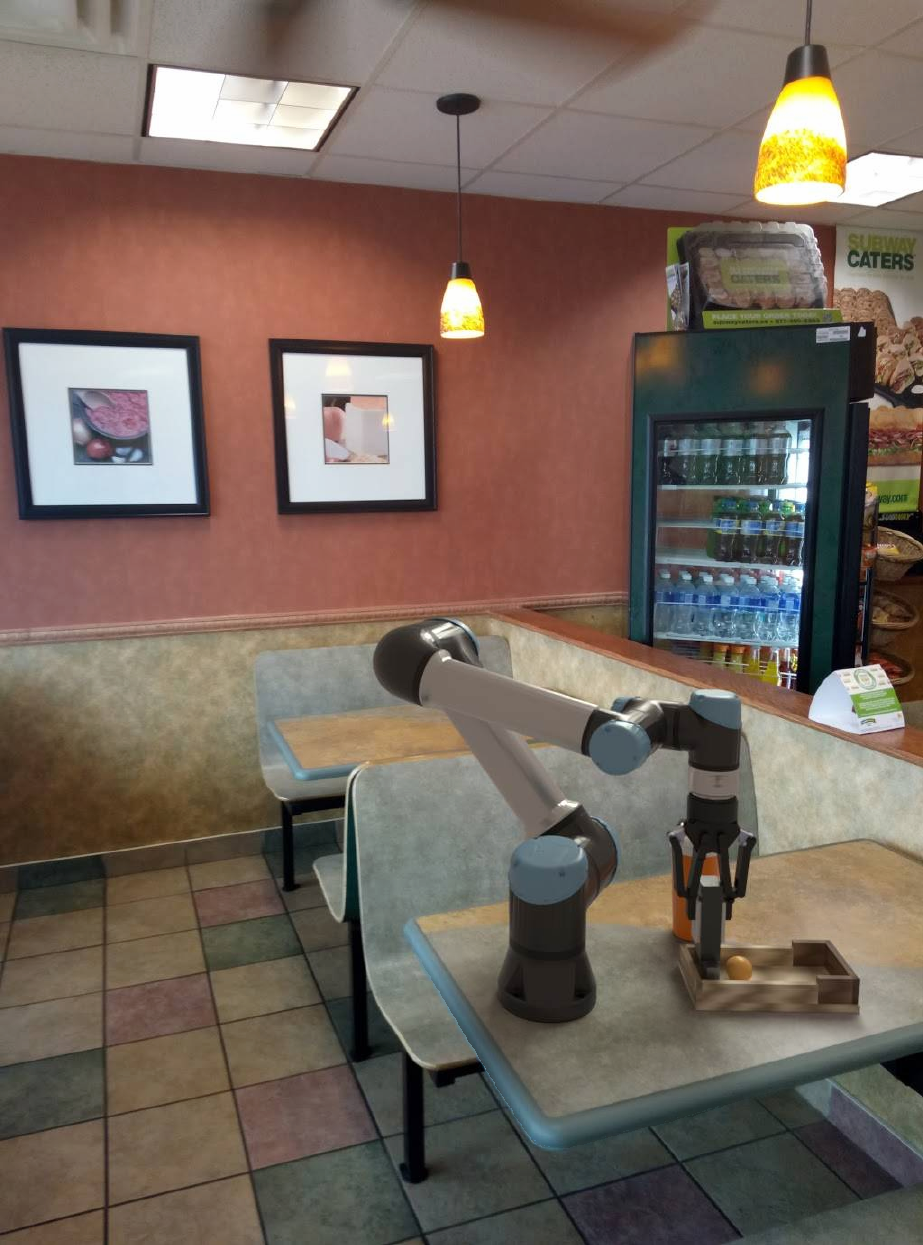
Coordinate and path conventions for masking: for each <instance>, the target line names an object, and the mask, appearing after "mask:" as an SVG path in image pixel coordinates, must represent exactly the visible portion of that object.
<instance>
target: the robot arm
mask: <svg viewBox="0 0 923 1245" xmlns="http://www.w3.org/2000/svg"><path fill="white" fill-rule="evenodd" d="M372 670H373V672H374V675H375V678H376V679H377V682H378V683H379V684H380V685H381V687H382V688H383V689H384V690H385V691H386V692H388V693H389V694H391V695H392V696H394V697H396V698H398V699H401V700H402V701H406V702H408V703H410V704H413V705H416V706H420V707H422V708H426V709H432V710H437V711H441V712H444V714H445V716H446V717H447V718H448V719H449V721H450V723H451V724H452V725H453V727H454V728H455V729H456V731H457V732H458V734H459V736H460V737H461V739H462V740H463V741H464V743H465V744H466V745H467V747H468V748H469V750H470V752H471V753H472V754H473V756H474V758H475V759H476V760H477V761H478V763H479V765H480V766H481V767H482V769H483V770H484V772H485V773H486V775H487V776H488V778H489V779H490V780H491V782H492V784H493V785H494V786H495V788H496V789H497V791H498V792H499V794H500V796H501V797H502V799H504V801H505V802H506V804H507V806H508V807H509V809H510V810H511V811H512V812H513V814H514V815H515V817H516V819H517V820H518V822H519V823H520V824H521V825H522V827H523V830H524V835H523V842H522V843H520V844H519V845H517V846H516V847H515V849H514V850H513V851H512V853H511V855H510V860H509V868H508V869H509V870H508V872H507V876H508V878H507V880H508V920H509V921H508V922H509V923H508V931H509V932H508V948H507V950H506V953H505V957H504V959H503V962H502V965H501V968H500V972H499V973H498V978H497V997H498V1000H499V1002H500V1005H502V1006H503V1007H504V1008H505V1009H506V1010H508V1011H509V1012H510V1013H512V1014H513V1015H516V1016H518V1017H521V1018H523V1019H526V1020H529V1021H534V1022H542V1023H560V1022H568V1021H572V1020H575V1019H578V1018H580V1017H582V1016H585V1015H586V1014H588V1013H589V1012H590V1011H591V1010H592V1009H593V1008H594V1007H595V1005H596V1002H597V988H598V987H597V979H596V977H595V975H594V970H593V968H592V965H591V961H590V958H589V955H588V953H587V947H586V945H587V944H586V939H587V938H586V935H587V912H588V908H590V906H591V905H592V904H593V902H595V900H596V899H597V898H598V897H599V896H600V894H601V893H602V891H604V889H606V888H608V886H610V884H611V882H612V881H613V880H614V879H615V875H616V873H617V872H618V870H619V868H620V864H621V859H622V858H621V857H622V849H621V844H620V841H619V838H618V836H617V834H616V833H615V831H614V829H613V828H612V827H611V826H610V825H609V824H608V823H607V822H606V821H605V820H604V819H601V818H599V817H595V816H593V815H590V814H589V813H588V811H587V810H586V809H585V807H584V806H583V804H582V803H581V802H580V801H575V800H570V799H568V798H566V796H565V794H563V792H562V791H561V789H560V788H559V786H558V785H557V784H556V782H555V780H554V779H553V777H552V776H551V775H550V773H549V772H548V771H547V769H546V768H545V766H544V765H543V763H542V762H541V761H540V759H539V758H538V756H537V755H536V754H535V752H534V751H533V748H531V746H530V745H529V743H528V742H527V740H525V738H524V736H526V737H530V738H533V739H535V740H538V741H541V742H544V743H547V744H549V745H553V746H556V747H558V748H561V749H564V750H566V751H570V752H573V753H575V754H578V755H582V756H584V757H587V758H590V759H591V760H592V762H593V764H594V765H595V766H596V767H597V768H598V770H600V771H601V772H603V773H605V774H606V775H610V776H615V777H617V776H619V777H620V776H621V777H622V776H624V775H625V776H626V775H628V774H630V773H633V772H634V771H635V770H638V769H639V768H641V767H642V766H643V764H645V763H646V762H647V759H649V757H651V756H652V755H653V754H654V753H655V752H656V751H657V750H660V749H661V750H669V751H676V752H687V754H688V755H687V756H688V759H687V760H688V762H687V763H688V764H687V787H686V788H688V790H689V791H688V792H687V793H686V818H685V819H686V821H685V823H684V824H683V828H682V829H680V830H677V831H675V830H674V831H675V832H674V831H673V830H668V831H667V832H666V837H667V839H668V841H669V844H670V843H671V848H672V863H673V879H674V889H675V891H676V893H677V895H678V897H684V898H686V915H687V917H688V919H689V920H692V931H691V935H692V937H693V939H694V941H695V942H694V944H695V943H700V929H701V901H700V899H699V897H698V890H699V884H700V879H701V874H702V869H703V864H704V860H705V859H706V854H707V853H711V852H714V853H717V859H718V867H719V881H720V882H721V884H722V886H723V900H722V927H721V944H725V941H726V940H725V939H726V938H725V937H726V921H731V920H732V918H733V904H734V903H735V901H736V900H735V899H738V898H739V899H743V898H745V896H746V893H747V886H748V879H749V878H748V877H749V871H750V864H751V856H752V852H753V849H754V848H755V846H756V844H757V841H758V840H757V837H756V836H755V834H753V833H752V832H751V830H750V831H749V830H747V831H745V830H743V829H741V826H740V825H739V821H738V819H739V799H740V798H739V796H738V795H737V793H738V792H740V790H739V789H740V764H741V761H740V760H741V742H742V728H743V722H742V701H741V698H740V697H739V695H737V693H734V692H733V691H730V690H724V689H718V688H717V689H716V688H715V689H714V688H713V689H710V688H709V689H708V688H707V689H705V688H702V689H697V690H693V692H691V693H690V697H689V700H688V701H677V700H675V701H674V700H665V699H655V698H648V697H647V698H646V697H642V696H638V695H637V696H619V697H617V698H616V699H614V701H613V702H612V705H611V707H610V709H608V708H606V707H602V706H600V705H597V704H594V703H591V702H589V701H585V700H581V699H579V698H575V697H572V696H570V695H566V694H563V693H560V692H556V691H553V690H550V689H547V688H544V687H541V686H537V685H535V684H531V683H528V682H525V681H522V680H518V679H516V678H512V677H509V676H507V675H504V674H501V673H497V672H494V671H490V670H488V669H486V667H485V666H484V665H483V663H482V661H481V659H480V645H479V640H478V639H477V637H476V635H475V633H474V632H473V631H472V630H471V629H470V627H469V626H468V625H466V624H465V623H463V622H461V621H459V620H458V619H455V618H450V617H431V618H427V619H424V620H423V621H419V622H415V623H411V624H407V625H401V626H398V627H395V628H393V629H391V630H389V631H388V632H386V633H385V634H384V635H383V636H382V637H381V638H380V639H379V641H378V642H377V645H376V647H375V649H374V651H373V657H372ZM685 836H687V837H688V839H689V840H690V841H691V843H692V844H693V855H692V860H691V865H690V870H689V875H688V881H687V886H686V887H685V883H684V868H683V853H682V848H681V845H683V844H684V838H685ZM737 838H738V839H737ZM736 839H737V840H736ZM735 841H737V842H738V843H739V845H738V849H737V857H736V866H735V871H734V872H735V873H734V878H733V879H734V881H732V875H731V874H732V873H731V867H730V866H731V865H730V855H729V854H730V853H729V849H730V847H731V846H732V845H733V843H734V842H735ZM671 848H670V849H671ZM672 863H671V864H672ZM732 882H733V883H732Z"/></svg>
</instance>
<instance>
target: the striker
mask: <svg viewBox="0 0 923 1245" xmlns="http://www.w3.org/2000/svg"><path fill="white" fill-rule="evenodd" d="M698 897H699V899H700V901H701V929H700V943H695V942H694V944H695V957H694V964H695V966H696V969H697V971H698V973H699V975H700V978H701V980H720V966H719V964H718V962H717V961H720V954H721V945H722V943H721V927H722V900H723V886H722V884H721V882H720V878H719V879H718V878H717V876H701V879H700V884H699V890H698Z"/></svg>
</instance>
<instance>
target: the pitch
mask: <svg viewBox="0 0 923 1245" xmlns="http://www.w3.org/2000/svg"><path fill="white" fill-rule="evenodd" d="M678 954H679V955H678V960H677V966H678V968H679V971H680V973H681V976H682V979H683V981H684V983H685V987H686V989H687V991H688V994H689V995H690V998H691V1001H692V1003H693V1006H694V1009H695V1011H718V1012H719V1011H721V1012H723V1011H724V1012H726V1011H727V1012H731V1011H732V1012H782V1013H783V1012H791V1013H792V1012H793V1013H795V1012H797V1013H802V1012H803V1013H804V1012H805V1013H845V1014H846V1013H848V1014H849V1013H853V1014H854V1013H857V1014H858V1013H859V1014H860V1010H861V1009H860V1008H861V1006H860V1005H859V999H860V985H861V984H860V982H861V979H860V978H859V976H858V975H857V973H856V972H855V971H854V970H853V969H852V967H851V965H850V964H849V963H848V962H847V960H846V959H845V958H844V956H842V954H841V953H840V952H839V950H838V949H837V948H836V946H835V945H834V943H833V942H831V940H830V939H791V945H787V944H785V945H784V944H783V945H781V944H777V945H776V944H766V945H765V944H721V954H720V961H717V962H718V964H719V966H720V980H701V978H700V975H699V973H698V971H697V969H696V966H695V964H694V957H695V943H694V944H692V943H691V944H690V943H681V944H679V949H678ZM734 956H742V957H744V958H746V959H747V960H748V961H749V962H750V963H751V965H752V969H753V973H752V976H751V978H750V980H731V979H730V978H729V977H728V975H727V973H726V964H727V962H728V960H729V959H730V958H732V957H734Z"/></svg>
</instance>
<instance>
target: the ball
mask: <svg viewBox="0 0 923 1245" xmlns="http://www.w3.org/2000/svg"><path fill="white" fill-rule="evenodd" d="M726 973H727V975H728V977H729V978H730V979H731V980H750V978H751V976H752V973H753V969H752V965H751V963H750V962H749V961H748V960H747V959H746V958H744V957H742V956H734V957H732V958H730V959H729V960H728V962H727V964H726Z"/></svg>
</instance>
